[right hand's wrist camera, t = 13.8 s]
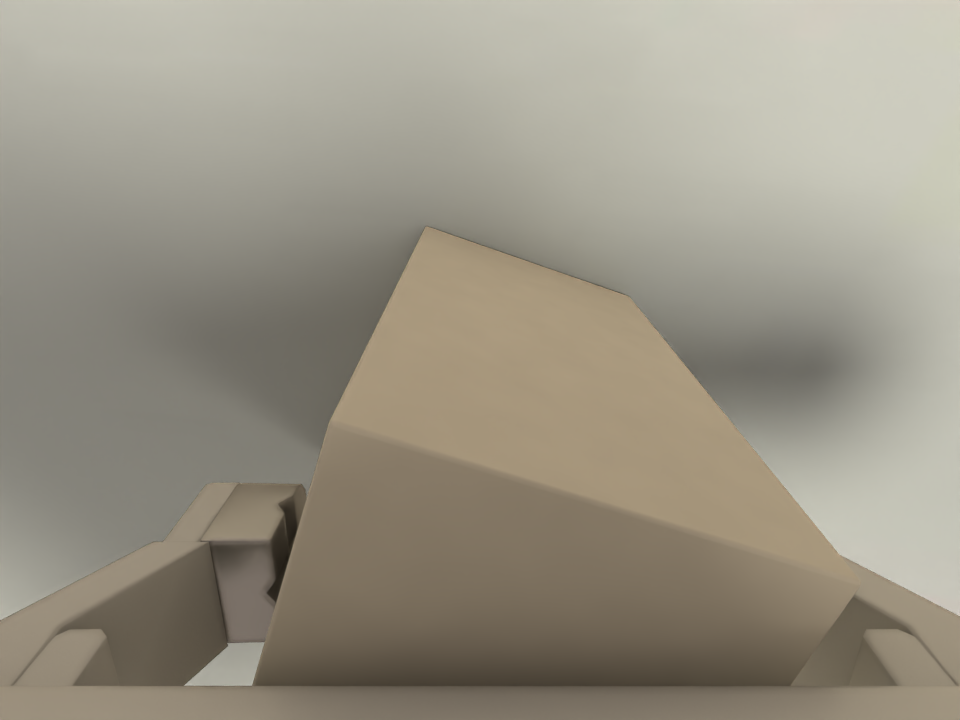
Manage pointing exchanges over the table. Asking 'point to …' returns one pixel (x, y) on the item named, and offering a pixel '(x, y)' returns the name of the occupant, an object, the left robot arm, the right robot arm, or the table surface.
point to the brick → (540, 505)
